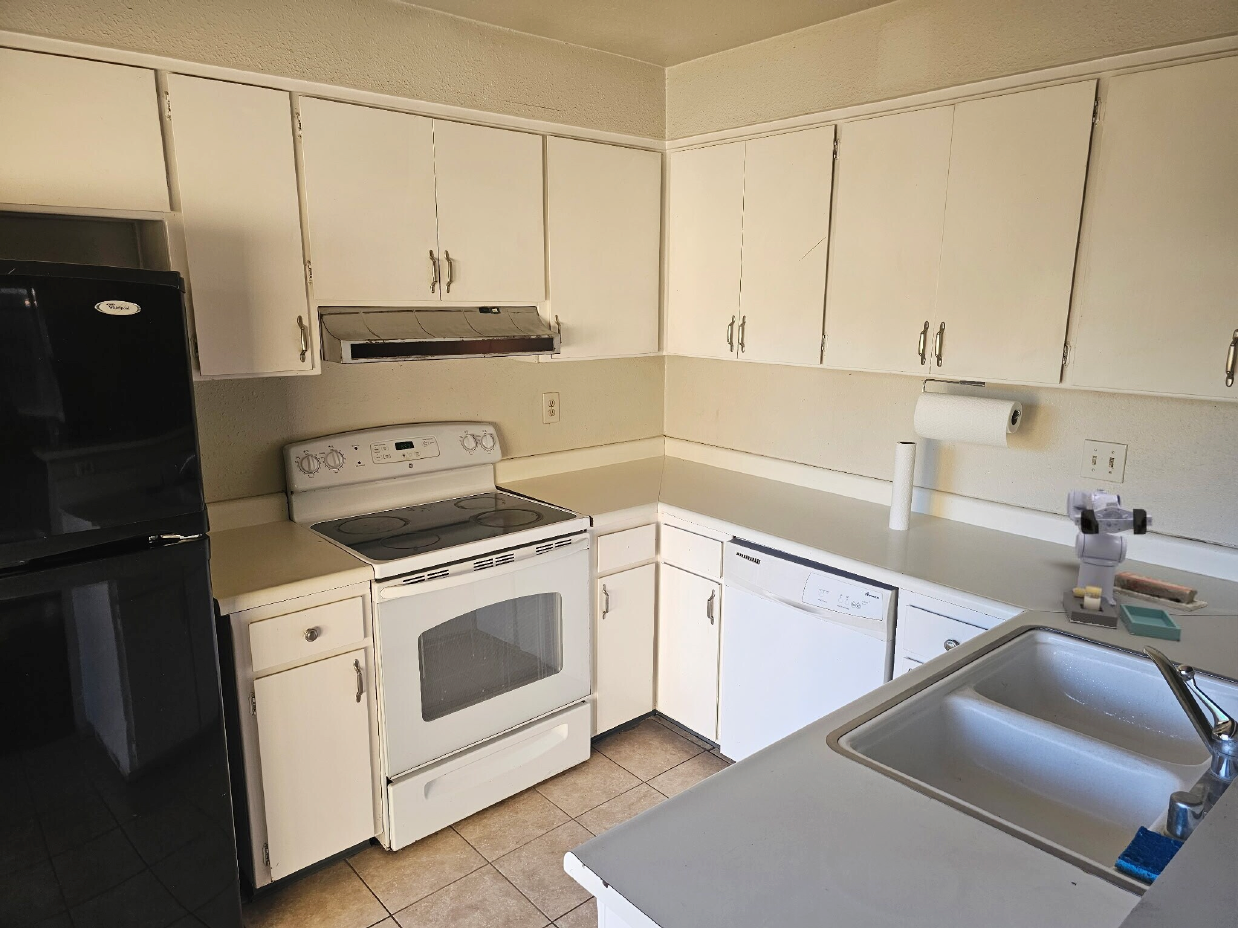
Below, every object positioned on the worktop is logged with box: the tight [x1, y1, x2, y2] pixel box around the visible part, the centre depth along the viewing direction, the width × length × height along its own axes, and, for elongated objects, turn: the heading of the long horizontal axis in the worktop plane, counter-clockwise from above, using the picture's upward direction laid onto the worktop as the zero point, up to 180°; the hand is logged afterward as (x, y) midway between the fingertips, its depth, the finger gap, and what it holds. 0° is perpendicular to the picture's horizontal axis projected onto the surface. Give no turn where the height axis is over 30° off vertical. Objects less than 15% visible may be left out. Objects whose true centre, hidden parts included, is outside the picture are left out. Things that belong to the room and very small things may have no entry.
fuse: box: [1083, 586, 1102, 611], centre depth 176 cm, size 3×3×7 cm
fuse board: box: [1062, 587, 1119, 629], centre depth 178 cm, size 16×8×4 cm, turn 157°
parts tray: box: [1118, 603, 1182, 642], centre depth 172 cm, size 14×8×2 cm, turn 157°
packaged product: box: [1113, 571, 1208, 612], centre depth 194 cm, size 18×5×10 cm
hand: (1118, 529), depth 170 cm, fingers open, 7 cm apart
